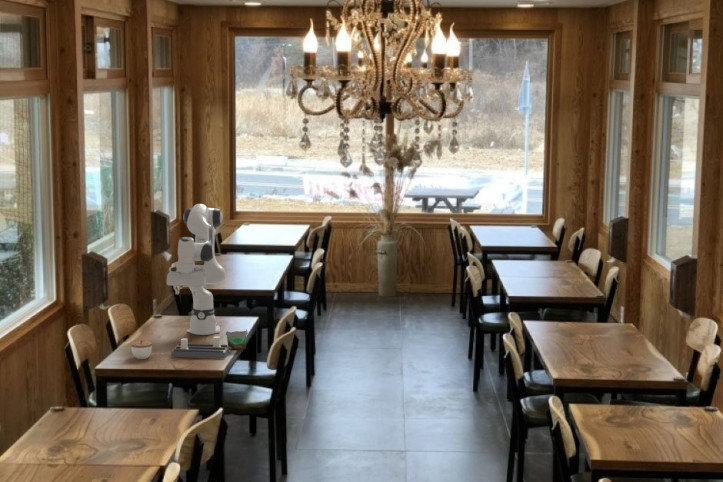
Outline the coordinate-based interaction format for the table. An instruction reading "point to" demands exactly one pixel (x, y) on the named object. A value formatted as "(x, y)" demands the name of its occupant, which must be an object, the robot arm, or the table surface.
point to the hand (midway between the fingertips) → (186, 294)
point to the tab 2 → (216, 341)
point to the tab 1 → (184, 343)
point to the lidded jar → (141, 349)
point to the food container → (236, 340)
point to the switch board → (201, 351)
